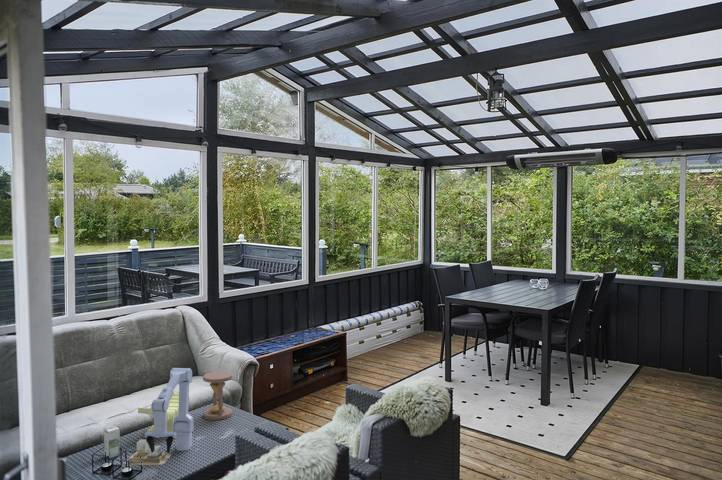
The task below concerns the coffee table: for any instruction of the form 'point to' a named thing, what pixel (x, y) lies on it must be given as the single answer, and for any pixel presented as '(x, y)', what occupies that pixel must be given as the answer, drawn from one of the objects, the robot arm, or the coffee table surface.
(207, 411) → the hourglass
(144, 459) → the pallet
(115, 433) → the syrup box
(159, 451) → the billet
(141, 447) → the billet
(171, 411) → the slatted curved stool
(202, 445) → the coffee table surface
